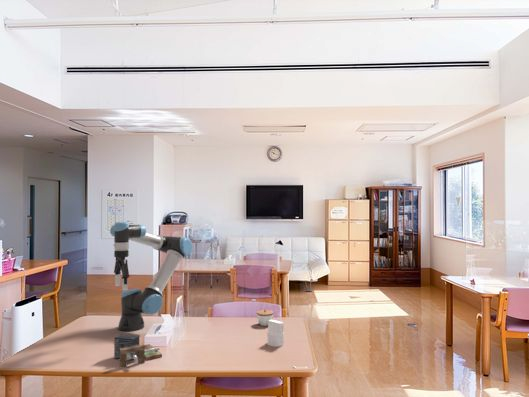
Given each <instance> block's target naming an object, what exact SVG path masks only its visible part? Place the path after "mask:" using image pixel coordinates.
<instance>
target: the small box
mask: <svg viewBox="0 0 529 397" xmlns="http://www.w3.org/2000/svg"><path fill="white" fill-rule="evenodd" d="M137 344H139V345H140V335H137V334H136V335H135V334H118V335H117V336H115V337H114V348H113V349H114V350H113V352H114V353H113V359H114V360H120V348H121V347H127V346H132V345H137ZM129 361H132V362H133V361H135V360H134V359H130V360H129Z"/></svg>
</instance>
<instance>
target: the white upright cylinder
mask: <svg viewBox="0 0 529 397" xmlns="http://www.w3.org/2000/svg"><path fill="white" fill-rule="evenodd" d="M267 328H268V329H267V345H268V346H270V347H282V346H284V345H285V332H284V330H285V329H284V322H283V321H279V320H276V319H273V320H268V327H267Z"/></svg>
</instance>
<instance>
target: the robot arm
mask: <svg viewBox="0 0 529 397" xmlns="http://www.w3.org/2000/svg"><path fill="white" fill-rule="evenodd" d="M109 231H110V232H109V233H110V234H111V236H112V237H114V240H113V241H114V244H113V246H114V248H113V249H114V254H113V256H114V258H115V265H114V271H113V273H114V274H115V276H114V282H115V283H114V287H121V289H122V292H121V298H120V300H121V316H120V319H119V322H118V324H117V325H118V330H119V331H122V332H132V331H138V330H143V329H144V328H145V320H144V318H143V314H146V315H154V314H157V313H158V312H159V311H160V310H161V308H162V306H163V305H164V304H163V296H164V295H163V292H164V290H165V288H166V286H167V284H168V283H169V281H170V279H171V277H172V276H173V274H174V272H175V271H176V269H177V267H178V265H179V263H180V262H182V261H183V260H184V259H185V257H188V256H190V255H191V254H192V252H193V242H192V240H191V239H190V238H189V237H185V236H172V235H171V236H167V235H165V236H164V235H162V234H161V235H160V234H158V235H155V234H152V233H149V232H147V229H146V226H145V225H144V224H129V222H128V221H119V222H118V221H117V222H115V223H114V224H113V225H112V226H111V227H110V230H109ZM129 240H130V241H131V242H134V243H139V244H142V245H146V246H149V247H152V248H153V249H154V250H156V251H160V252H162V253H165V254H167V255H166V257H165V259H164V260H163V262H162V264H161V265H160V267H159V269H158V270H157V272H156V274H155V275H154V278H153V280H152V281H151V282H150V284H149V286H146V287H144V289H143V291H142V288H132V289H131V288H130V289H129V287H128V284H129V282H128V281H129V279H128V278H130V272H129V266H128V259H126V258H127V257H129V248H130V244H129ZM121 275H122V277H121Z"/></svg>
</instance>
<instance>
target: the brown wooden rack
mask: <svg viewBox="0 0 529 397" xmlns="http://www.w3.org/2000/svg"><path fill="white" fill-rule="evenodd" d="M139 345H140V343H139V344H137V345H132V346H127V347H121V348H120V349H124V348H129V347H134V346H139ZM152 351H155V352H157V351H160V348H155V349H152V350H147V351H145V353H147V352H152ZM130 359H134V360H133V361H137V362H138V352H133V353H128V354H127V361H131V360H130Z"/></svg>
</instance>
